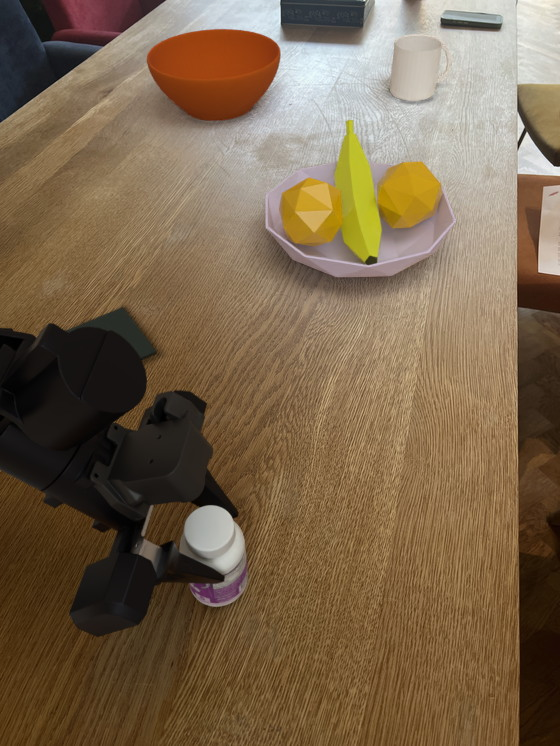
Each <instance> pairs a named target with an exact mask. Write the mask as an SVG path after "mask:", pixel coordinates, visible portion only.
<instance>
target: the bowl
mask: <svg viewBox="0 0 560 746" xmlns="http://www.w3.org/2000/svg"><path fill="white" fill-rule="evenodd" d="M281 55H282V52H281V47H280V46H279V44H278V43H277V42H276V41H275V40H274V39H272V38H270V37H269V36H266V35H265V34H262V33H258V32H256V31H251V30H243V29H233V28H232V29H231V28H211V29H201V30H195V31H189V32H188V31H187V32H183V33H180V34H178V35H173V36H171V37H168V38H166V39H164V40H162V41H160V42H158V43H156V44H155V45H154V46H153V47H152V48H151V49H150V50H148V53H147V55H146V65H147V68H148V70H149V74H150V75H151V77H152V79H153V81H154V82H155V84H156V85H157V87H158V88H159V89H160V91H161V92H162V93H163V94H164V95H165V96H166V97H167V98H168V99H169V100H170V101H171V102H172V103H174V104H175V105H176V106H177V107H179V108H180V109H181V110H183V112H184V113H186V114H187V115H188V116H189V117H192V118H194V119H197V120H201V121H207V122H221V121H229V120H233V119H238V118H240V117H243V116H244V115H246V114H247V113H249V112H250V111H251V110H252V109H253V108H254V107H255V106H256V104H257V103H258V102H259V101H260V100H261V99H262V98H263V96H264V95H265V94H266V93H267V91H268V90H269V88H270V87H271V85H272V83H273V82H274V80H275V78H276V76H277V73H278V70H279V67H280V63H281V57H282V56H281Z"/></svg>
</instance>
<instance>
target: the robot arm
mask: <svg viewBox="0 0 560 746" xmlns="http://www.w3.org/2000/svg"><path fill="white" fill-rule="evenodd" d="M147 384H148V376H147V370H146V368H145V365H144V362H143V359H142V360H141V358H140V356H139V355H138V353H137V351H136V350H135V349H134V348H133V346H132V345H131V344H130V343H129V342H128V341H127V340H126V339H124V338H123V337H122V336H121V335H119V334H118V333H116V332H114V331H112V330H109V331H107V330H104V329H101V328H97V327H81V328H78V329H76V330H73V331H71V332H70V333H68V332H66V330H65V329H63V328H62V327H60V326H58V325H57V324H56V323H53V322H48V323H47V324H46V325H45V326H44V327H43V328H42V329H41V330H40V331H39V333H38V334H37V336H35V334H32V333H29V332H22V331H16V330H14V328H12V327H0V471H1V472H3V473H6V474H7V475H9V476H11V477H13V478H15V479H16V480H19V481H21V482H22V483H24V484H27V485H28V486H30V487H31V488H32V487H33V488H34V489H36V490H38V491H39V492H42V493H43V494H45V496H44V498H43V500H42V503H43V504H46V505H48V506H49V507H51V508H54V509H56V508H58V507H60V506H61V505H63V504H64V505H66V506H68V507H70V508H72V509H74V510H75V511H77V512H80V514H81V513H82V514H83V515H85V516H87V517H89V518H91V519H93V521H92V522H93V523H92V524H91V528H92V529H94V530H96V531H98V532H100V533H102V534H103V533H104V534H105V533H106V532H108V531H110V530H114V531H116V534H115V537H114V540H113V543H112V546H111V549H110V551H109V554H108V556H106V557H104V558H102V559H100V560H97V561H95V562H93V563H90V564H88V565H86V566H85V570H84V571H83V574H82V577H81V579H80V582H79V585H78V587H77V590H76V593H75V595H74V599H73V601H72V603H71V607H70V609H69V612H68V614H69V616H70V618H71V620H72V622H73V624H74V626H75V627H76V629H77V630H80V631H82V632H85V633H87V634H89V635H91V636H94V637H96V638H100V637H103V636H106V635H110V634H113V633H116V632H117V633H118V632H120V631H123V630H126V629H130V628H132V627H133V628H134V627H136V626H140V624H141V623H142V621H144V619H145V617H146V616H147V614H148V611H149V607H150V604H151V600H152V597H153V593H154V590H155V587H157V586H159V585H161V584H163V583H166V584H169V583H170V584H172V583H173V584H174V583H175V584H189V583H199V584H219V583H222V582H224V581H225V576H224V575H222V574H221V573H219V572H218V571H217V570H215V569H214V568H212V567H209V566H207V565H205V564H203V563H201V562H199V561H197V560H195V559H193V558H190V557H188V556H186V555H184V554H182V553H180V550H179V549H178V546H177V544H176V542H175V540H173V539H171V540H169V541H167V542H165V543H161V544H159V545H158V544H155V543H154V542H152V541H150V540H148V539H147V538H146V533H147V530H148V527H149V525H150V522H151V518H152V515H153V511H154V508H155V506H157V505H165V504H171V503H182V504H184V503H185V504H186V503H191V504H193V505H195V506H197V507H198V508H200V507H203V506H209V505H214V506H218V507H221V508H223V509H225V510H226V511H227V512H228V513H229V514H230V515H231V516H232V519H233V520H235V519H237V518H238V517H239V514H240V513H239V510H238V509H237V507H236V506H235V505H234V504H233V502H232V501H231V500H230V498H229V497H228V495H227V494H226V493H225V491H224V490H223V488H222V487H221V486H220V485H219V483H218V481H216V479H215V478H214V476H213V475H212V473H211V472H210V470H209V468H208V467H209V462H210V460H211V459H212V458H213V455H214V446H213V445H212V444H211V443H210V441H208V439H207V438H206V437H205V436H204V433H202V430H203V427H204V423H205V419H206V416H205V413H206V410H207V407H208V402H207V401H205V399H203V398H201V397H200V396H198V395H197V394H195V393H194V392H192V391H191V390H186V389H175V390H168V391H163V392H159V393H157V394H156V395H155V398H154V400H153V403H152V405H150V406H149V407H147V408H146V409H145V410H144V411H143V414H142V417H141V419H140V422H139V425H138V428H137V430H135V429H131V428H127V427H125V426H123V425H121V424H119V423H118V422H117V421H118V420H119V419H121V418H122V417H123V416H125V415H127V413H129V412H130V411H132V410H133V409H135V408H136V407H137V406H138V405H140V403H141V402H142V401H143V399H144V398H145V395H146V391H147V386H148V385H147Z"/></svg>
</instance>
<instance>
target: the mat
mask: <svg viewBox="0 0 560 746" xmlns="http://www.w3.org/2000/svg"><path fill="white" fill-rule="evenodd" d="M81 327H97V328H101V329H104V330H107V331H109V330H112V331H114V332H116V333H118V334H119V335H121V336H122V337H123V338H124V339H126V340H127V341H128V342H129V343H130V344H131V345H132V346H133V348H134V349H135V350H136V351H137V353H138V355H139V356H140V358H141V360H142V361H143V360H145V359H146V358H149V357H151V356H154V355H156V354H157V350H156V349H155V348H154V346H153V345H152V343H151V342H150V341H149V340H148V338H147V336H145V335H144V333H143V332H142V330H141V329H140V328H139V326H138V325H137V324H136V322H135V321H134V320H133V319H132V316H130V315H129V313H128V312H127V311H126V309H125V308H124V307H123V306H122V307H119V308H117V309H114V310H112V311H109V312H107V313H105V314H103V315H100V316H98V317H95V318H93V319H91V320H88V321H85V322H83V323H81V324H78V325H76V326H73V327H71V328H69V329H66V330H65V331H66V332H68V333H70V332H71V331H73V330H76V329H78V328H81Z"/></svg>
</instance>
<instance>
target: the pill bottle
mask: <svg viewBox="0 0 560 746" xmlns="http://www.w3.org/2000/svg"><path fill="white" fill-rule="evenodd" d="M179 552H180V553H182V554H184V555H186V556H188V557H190V558H193V559H195V560H197V561H199V562H201V563H203V564H205V565H207V566H209V567H212V568H214V569H215V570H217V571H218V572H219V573H221V574H222V575H224V576H225V581H224V582H222V583H219V584H199V583H188V586H189V589H190V591H191V594H192V595H193V597H194V598H195V599H196V600H197V601H198V602H200V603H201V604H203V605H206V606H209V607H214V608H215V607H216V608H217V607H225V606H228V605H230V604H232V603H234V602H235V601H236V600H238V599H239V598H240V596H241V595H242V594H243V593H244V591H245V590H246V588H247V584H248V580H249V579H248V578H249V572H248V571H249V570H248V558H247V549H246V540H245V536H244V533H243V531H242V529H241V526H239V524H237V522H236V521H234V519H232V516H231V515H230V514H229V513H228V512H227V511H226V510H225V509H223V508H221V507H218V506H214V505H209V506H203V507H198V508H196V509H194V510H193V511H192V512H191V513H190V514H189V515H188V516H187V518H186V520H185V522H184V525H183V533H182V535H181V537H180V541H179Z"/></svg>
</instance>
